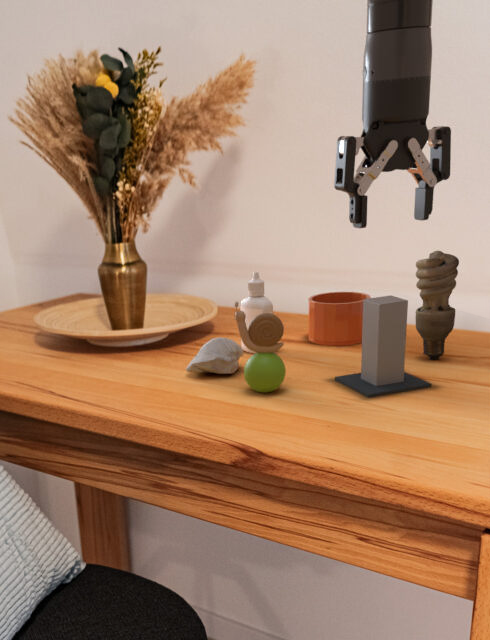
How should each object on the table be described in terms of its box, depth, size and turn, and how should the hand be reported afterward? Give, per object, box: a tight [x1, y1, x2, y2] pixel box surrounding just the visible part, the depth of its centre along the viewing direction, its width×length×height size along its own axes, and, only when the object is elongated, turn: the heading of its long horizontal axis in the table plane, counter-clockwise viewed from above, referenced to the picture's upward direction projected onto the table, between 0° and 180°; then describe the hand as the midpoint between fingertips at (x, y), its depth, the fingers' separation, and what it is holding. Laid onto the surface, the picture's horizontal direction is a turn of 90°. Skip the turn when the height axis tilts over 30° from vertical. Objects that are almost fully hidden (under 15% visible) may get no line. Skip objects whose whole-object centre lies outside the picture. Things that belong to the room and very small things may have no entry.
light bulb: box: [415, 250, 460, 361], centre depth 116 cm, size 6×6×15 cm
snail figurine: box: [234, 301, 287, 394], centre depth 109 cm, size 5×6×12 cm
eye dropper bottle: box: [239, 271, 274, 354], centre depth 128 cm, size 4×6×12 cm
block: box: [360, 295, 409, 386], centre depth 108 cm, size 4×4×10 cm
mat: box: [334, 371, 432, 399], centre depth 111 cm, size 9×9×1 cm
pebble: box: [185, 336, 244, 375], centre depth 121 cm, size 9×8×5 cm
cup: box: [307, 291, 372, 346], centre depth 133 cm, size 9×9×6 cm
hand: (390, 223), depth 103 cm, fingers open, 8 cm apart
